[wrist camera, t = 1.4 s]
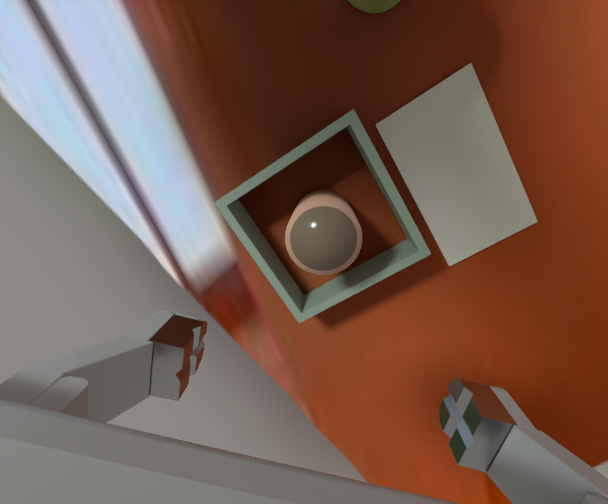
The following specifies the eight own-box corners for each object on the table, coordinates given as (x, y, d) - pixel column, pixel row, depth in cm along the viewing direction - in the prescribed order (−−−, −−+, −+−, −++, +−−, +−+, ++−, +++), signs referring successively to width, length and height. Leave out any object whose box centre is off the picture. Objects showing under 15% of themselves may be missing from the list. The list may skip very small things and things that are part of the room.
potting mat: (374, 124, 28) (375, 124, 28) (469, 63, 26) (471, 62, 26) (448, 265, 32) (449, 266, 31) (536, 221, 30) (537, 221, 29)
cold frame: (227, 196, 31) (213, 202, 27) (349, 114, 28) (353, 108, 24) (301, 304, 34) (299, 323, 30) (418, 241, 31) (431, 254, 27)
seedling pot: (282, 209, 31) (270, 227, 24) (333, 176, 29) (337, 185, 22) (313, 257, 32) (310, 287, 25) (363, 228, 31) (376, 252, 24)
